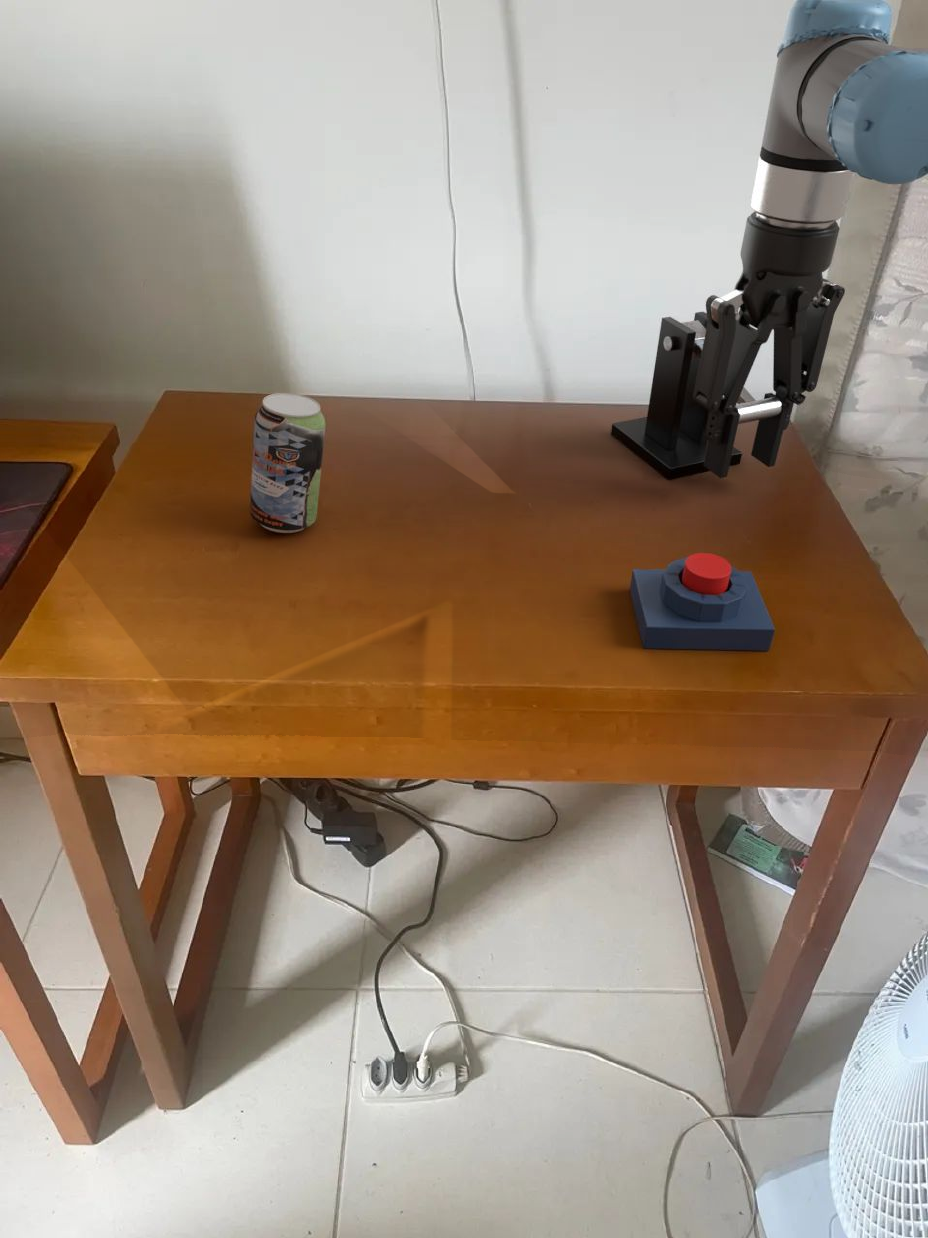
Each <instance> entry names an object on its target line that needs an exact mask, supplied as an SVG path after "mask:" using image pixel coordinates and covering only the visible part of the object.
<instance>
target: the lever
mask: <svg viewBox="0 0 928 1238" xmlns="http://www.w3.org/2000/svg"><path fill="white" fill-rule="evenodd" d="M681 323H682V324H683V325H685V326H687V327H689V328H690V329H692V330H694V331H695V332H696V336H695V342H694V348H693V353H692V359H693V358H699V359H701V353H702V348H703V343H704V338H705V333H706V328H705V327H704V326H703V325H702V324H701V323H700V322H699V320H695V321H694V320H690V321H684V322H681ZM734 410H735V411H736V412H738V413H739V414H740V418H739V423H738V425H740V424H747V423H750V422H751V423H752V422H755V421H759V420H761V419H766V418H770V417H775V416H778V415H779V414H780V413H781V410H782V405H781V402H780V400H779V399H778V398H776V397H772V398H767V399H764V398H762V399H755V398H754V396H753V395H752V394H751V393H750V392H749V391H748V389H747V388H745V386H744V387H743V389H742V392H741V394H740V397H739V399H738V401H737V404H736V406H735V409H734Z"/></svg>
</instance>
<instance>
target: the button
mask: <svg viewBox="0 0 928 1238" xmlns="http://www.w3.org/2000/svg"><path fill="white" fill-rule="evenodd" d="M687 557H688V558H687V559H686V561H685V565H684V570H683V576H682V583H683V585H684V586H685V587H686V588H687V589H689V590H690V591H693V592H696V593H699V594H702V595H719V594H722V593H724V592H725V591H726V590H727V587H728V583H729V578H730V574H731V566H732V565H731V563H729V561H728V560H727V559H726V558H723V557H722V556H719V555H718V554H713V553H708V552H698V553H694V554H691V555H689V556H687Z"/></svg>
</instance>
